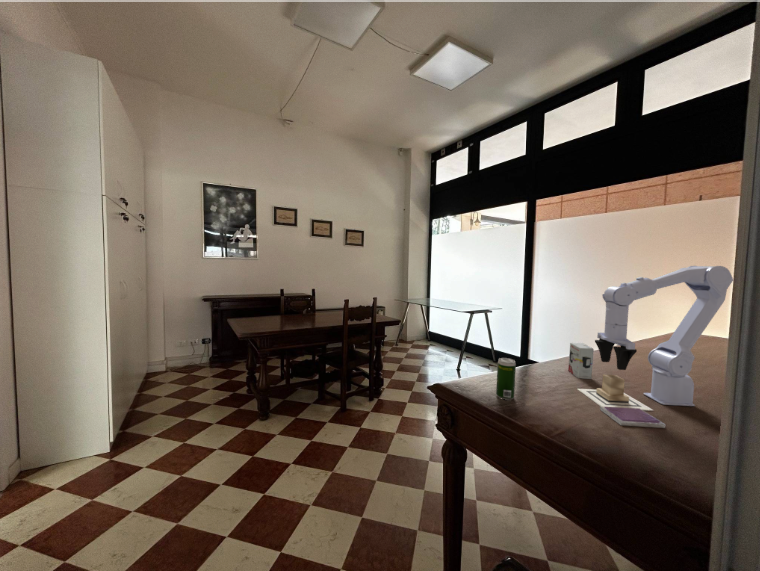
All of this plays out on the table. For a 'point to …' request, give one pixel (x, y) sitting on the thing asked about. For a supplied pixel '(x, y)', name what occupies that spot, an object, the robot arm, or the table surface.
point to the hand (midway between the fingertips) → (613, 365)
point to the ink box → (581, 360)
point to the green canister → (506, 378)
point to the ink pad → (632, 417)
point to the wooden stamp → (613, 389)
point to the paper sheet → (601, 402)
